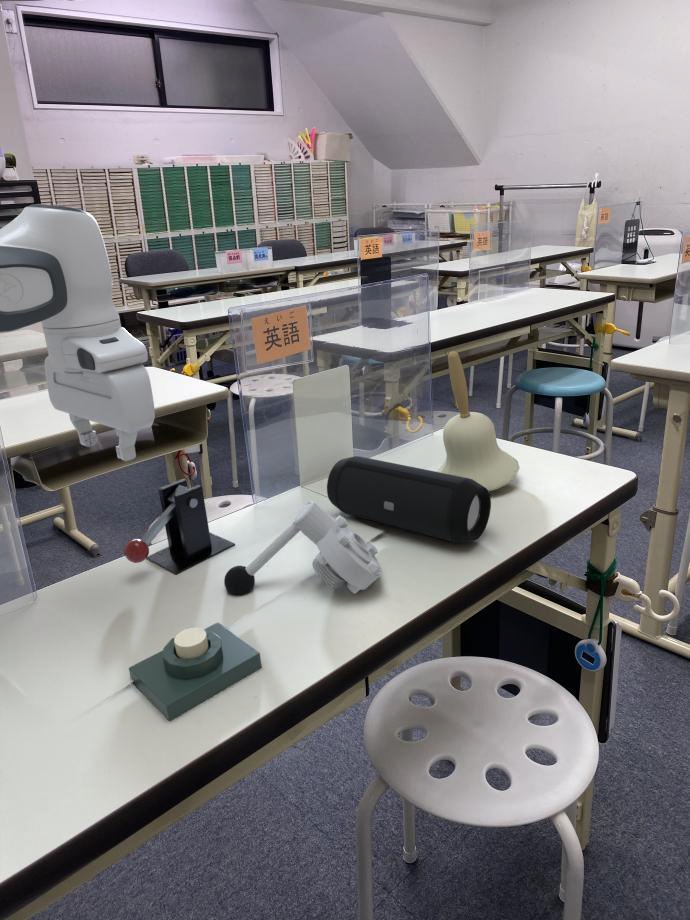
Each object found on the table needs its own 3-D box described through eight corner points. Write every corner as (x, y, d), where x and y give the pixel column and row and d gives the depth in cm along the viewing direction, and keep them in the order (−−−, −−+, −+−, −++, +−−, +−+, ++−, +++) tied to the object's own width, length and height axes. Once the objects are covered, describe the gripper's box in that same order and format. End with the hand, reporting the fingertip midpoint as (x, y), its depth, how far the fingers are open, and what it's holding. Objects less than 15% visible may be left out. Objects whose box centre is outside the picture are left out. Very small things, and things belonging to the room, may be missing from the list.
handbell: (536, 483, 119) (514, 346, 109) (455, 512, 117) (426, 375, 107) (497, 453, 133) (475, 330, 123) (425, 478, 131) (396, 355, 121)
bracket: (176, 580, 99) (163, 507, 95) (147, 564, 104) (132, 493, 100) (236, 550, 107) (226, 480, 102) (205, 536, 112) (194, 469, 108)
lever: (142, 570, 97) (127, 557, 95) (129, 563, 99) (115, 550, 97) (200, 500, 102) (188, 486, 100) (187, 495, 105) (175, 481, 102)
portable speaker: (325, 520, 114) (321, 465, 110) (360, 498, 121) (356, 445, 118) (463, 558, 99) (463, 496, 96) (493, 530, 107) (494, 471, 103)
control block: (169, 722, 72) (163, 692, 71) (131, 683, 79) (125, 654, 77) (262, 668, 79) (258, 639, 78) (220, 636, 86) (216, 609, 84)
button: (186, 664, 75) (184, 651, 75) (170, 650, 78) (168, 637, 77) (214, 649, 78) (212, 636, 77) (198, 636, 80) (195, 623, 79)
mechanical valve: (390, 582, 89) (308, 507, 86) (295, 668, 92) (212, 599, 89) (383, 550, 99) (309, 481, 96) (297, 628, 102) (222, 564, 99)
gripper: (23, 342, 88) (47, 443, 93) (105, 359, 75) (127, 476, 80) (69, 333, 92) (90, 430, 97) (154, 348, 79) (173, 459, 84)
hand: (107, 451), depth 88 cm, fingers open, 8 cm apart
